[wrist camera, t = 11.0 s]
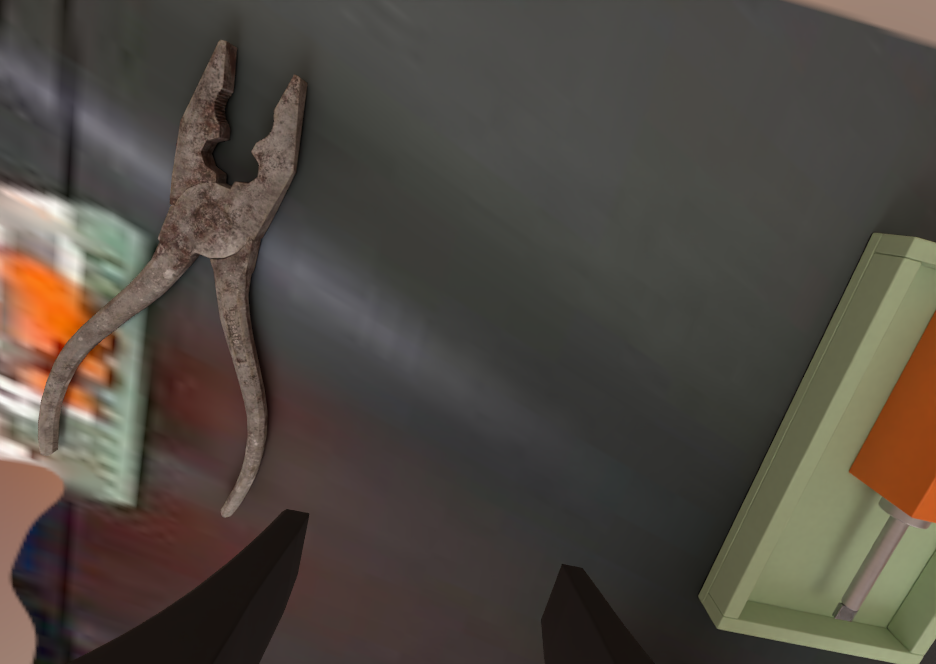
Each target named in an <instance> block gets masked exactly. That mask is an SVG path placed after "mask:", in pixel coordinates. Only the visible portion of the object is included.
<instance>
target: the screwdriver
mask: <svg viewBox="0 0 936 664" xmlns="http://www.w3.org/2000/svg"><path fill="white" fill-rule="evenodd" d="M849 473H851V474H852V475H853V476H855V477H856V478H857V479H859V480H860V481H862V482H863V483H864V484H866V485H867V486H869V487H870V488H871V489H873V490H874V491H875V492H877V493H878V494H880V495H881V496H882V498H881V500H880V501H879V506H880V508H881V509H882V510H884V511H885V512H886V513H888V514H889V515H890V517H889V518H888V520H887V522H886V524H885V525H884V527H883V529H882V530H881V532H880V534H879V536H878V537H877V539H876V541H875V542H874V544H873V546H872V547H871V549H870V551H869V553H868V554H867V556H866V558H865V559H864V561H863V563H862V565H861V566H860V568H859V570H858V571H857V573H856V575H855V577H854V578H853V580H852V582H851V583H850V585H849V587H848V589H847V590H846V592H845V594H844V595H843V597H842V599H841V601H842V603H841V602H839V603H838V605H837V607H836V608H835V610H834V612H833V613H832V616H833V617H834V618H835V619H839V620H844V621H849V622H852V620H853V619H854V617H855V615H856V614H857V612H858V610H859V608H860V607H861V605H862V603H863V602H864V600H865V598H866V597H867V595H868V593H869V592H870V590H871V588H872V587H873V585H874V583H875V582H876V580H877V578H878V577H879V575H880V573H881V572H882V570H883V568H884V567H885V565H886V563H887V562H888V560H889V558H890V557H891V555H892V553H893V552H894V550H895V548H896V547H897V545H898V543H899V542H900V540H901V538H902V537H903V535H904V533H905V532H906V530H907V528H908V527H909V525H910V526H913V527H916V528H920V529H927V528H929V526H930V525H931V523H932V522H933V523H936V311H935V313H934V315H933V316H932V318H931V320H930V322H929V324H928V326H927V328H926V329H925V331H924V333H923V335H922V337H921V339H920V341H919V342H918V344H917V346H916V348H915V350H914V352H913V353H912V355H911V357H910V359H909V361H908V363H907V365H906V366H905V368H904V370H903V372H902V374H901V376H900V378H899V379H898V381H897V383H896V385H895V387H894V389H893V390H892V392H891V394H890V396H889V398H888V400H887V402H886V403H885V405H884V407H883V409H882V411H881V413H880V414H879V416H878V418H877V420H876V422H875V424H874V426H873V427H872V429H871V431H870V433H869V435H868V437H867V439H866V440H865V442H864V444H863V446H862V448H861V450H860V451H859V453H858V455H857V457H856V459H855V461H854V463H853V464H852V466H851V468H850V470H849Z"/></svg>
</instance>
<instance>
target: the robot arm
mask: <svg viewBox="0 0 936 664" xmlns="http://www.w3.org/2000/svg"><path fill="white" fill-rule="evenodd" d="M308 518H309V513H304V512H299V511H294V510H289V509H286V510H284V511H283V512H281V514H280V515H279V516H278V517H277V518H276V519H275V520H274V521H273V522H272V523H271V524H270V525H269V526H268V527H267V528H266V529H265V530H264V531H263V532H262V533H261V534H260V535H259V536H258V537H256V538H255V539H254V540H253V541H252V542H251V543H250V544H249V545H248V546H246V547H245V548H244V549H243V550H242V551H241V552H240V553H239V554H237V555H236V556H235V557H234V558H233V559H232V560H230V561H229V562H228V563H227V564H226V565H224V566H223V567H222V568H221V569H219V570H218V571H217V572H215V573H214V574H213V575H212V576H210V577H209V578H208V579H207V580H205V581H204V582H203V583H201V584H200V585H199V586H197V587H196V588H195V589H193V590H192V591H191V592H189V593H188V594H186V595H185V596H183V597H182V598H181V599H179V600H178V601H176V602H175V603H173V604H172V605H170V606H169V607H167V608H166V609H164V610H163V611H161V612H159V613H158V614H156V615H154V616H153V617H151V618H150V619H148V620H146V621H145V622H143V623H142V624H140V625H138V626H137V627H135V628H133V629H132V630H130V631H128V632H126V633H125V634H123V635H121V636H119V637H118V638H116V639H114V640H112V641H110V642H108V643H106V644H104V645H102V646H100V647H98V648H96V649H95V650H93V651H91V652H89V653H87V654H85V655H83V656H81V657H79V658H77V659H75V660H73V661H71V662H69V663H67V664H259V662H260V660H261V658H262V656H263V654H264V652H265V650H266V648H267V646H268V644H269V642H270V640H271V638H272V636H273V634H274V631H275V629H276V627H277V625H278V623H279V621H280V619H281V617H282V615H283V613H284V610H285V607H286V605H287V602H288V599H289V597H290V594H291V591H292V588H293V586H294V583H295V580H296V577H297V575H298V570H299V565H300V560H301V555H302V549H303V544H304V539H305V534H306V529H307V524H308ZM541 624H542V638H543V649H544V659H545V664H655V663H654V662H653V661H652V660H651V659H650V657H649V656H648V655H647V654H646V653H645V651H644V650H643V649H642V648H641V646H640V645H639V644H638V643H637V641H636V640H635V639H634V637H633V636H632V635H631V634H630V632H629V631H628V630H627V628H626V627H625V626H624V624H623V623H622V622H621V620H620V619H619V618H618V616H617V615H616V613H615V612H614V611H613V609H612V608H611V607H610V605H609V604H608V602H607V601H606V600H605V598H604V597H603V595H602V594H601V593H600V591H599V590H598V588H597V587H596V586H595V584H594V583H593V581H592V580H591V579H590V577H589V576H588V575H587V573H586V572H585V571H584V569H583V568H580V567H575V566H570V565H565V564H562V566H561V568H560V571H559V574H558V576H557V579H556V582H555V584H554V587H553V590H552V592H551V595H550V598H549V600H548V603H547V606H546V608H545V611H544V614H543V616H542V619H541Z"/></svg>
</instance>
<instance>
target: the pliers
mask: <svg viewBox="0 0 936 664" xmlns="http://www.w3.org/2000/svg"><path fill="white" fill-rule="evenodd" d="M236 55H237V48H236V47H234V46H233V45H231V44H230V43H228V42H227V41H223V40H219V42H218V44H217V46H216V49H215V51H214V53H213V55H212V57H211V59H210V61H209V63H208V65H207V67H206V69H205V71H204V73H203V76H202V78H201V80H200V82H199V84H198V86H197V88H196V90H195V92H194V94H193V96H192V98H191V100H190V103H189V105H188V107H187V109H186V111H185V113H184V115H183V117H182V119H181V121H180V128H179V134H178V141H177V147H176V154H175V161H174V167H173V174H172V181H171V193H170V205H174V206H170V209H169V211H168V214H167V216H166V219H165V221H164V224H163V227H162V229H161V232H160V234H159V237H158V239H159V241H160V242H159V244H158V247H157V249H156V251H155V253H154V255H153V257H152V259H151V260H150V262H149V263H148V264H147V265H146V266H145V268H144V269H143V270H142V271H141V272H140V274H139V275H138V276H137V277H136V278H135V279H134V280H133V281H132V282H131V283H130V284H129V285H128V286H127V287H126V288H124V289H123V290H122V291H121V292H120V293H119V294H118V295H116V296H115V297H114V298H113V299H112V300H111V301H110V302H109V303H107V304H106V305H105V306H104V307H103V308H102V309H101V310H100V311H98V312H97V313H96V314H95V315H94V316H93V317H92V318H91V319H89V320H88V321H87V322H86V323H85V324H84V325H83V326H82V327H81V328H80V329H79V330H78V331H77V332H76V333H75V334H74V335H73V336H72V337H71V339H70V340H69V341H68V342H67V343H66V345H65V346H64V348H63V349H62V351H61V352H60V354H59V356H58V357H57V359H56V360H55V363H54V365H53V367H52V370H51V372H50V374H49V377H48V379H47V382H46V386H45V389H44V393H43V396H42V400H41V406H40V413H39V420H38V440H39V447H40V453H41V455H44V456H49V455H50V454H52V453H53V452H55V451H56V450H57V449H58V439H59V419H60V413H61V407H62V402H63V399H64V396H65V393H66V391H67V388H68V385H69V383H70V381H71V379H72V377H73V375H74V373H75V371H76V369H77V367H78V366H79V364H80V363H81V362H82V360H83V359H84V358H85V357H86V355H87V354H88V353H89V351H91V350H92V349H93V348H94V347H95V346H96V345H97V344H98V343H99V342H101V341H102V340H103V339H104V338H105V337H107V336H108V335H109V334H111V333H112V332H113V331H114V330H116V329H117V328H118V327H119V326H121V325H122V324H123V323H125V322H126V321H127V320H129V319H130V318H132V317H133V316H134V315H136V314H137V313H139V312H140V311H142V310H143V309H144V308H146V307H147V306H149V305H150V304H151V303H153V302H154V301H155V300H156V299H158V298H159V297H160V296H161V295H163V294H164V293H165V292H166V291H167V290H168V289H169V288H170V287H171V286H172V285H173V284H174V283H175V282H176V281H177V280H178V279H179V278H180V277H181V276H182V275H183V273H184V272H185V271H186V270H187V269H188V268H189V267H190V265H191V264H192V263H193V262H194V261H195V260H196V259H197V257H198V256H199V255H200V254H201V255H203V256H206V257H208V258H210V261H211V264H212V267H213V270H214V278H215V286H216V294H217V300H218V307H219V314H220V319H221V323H222V327H223V330H224V334H225V338H226V341H227V344H228V347H229V350H230V353H231V356H232V359H233V363H234V366H235V370H236V373H237V377H238V380H239V384H240V388H241V391H242V395H243V399H244V404H245V409H246V413H247V428H248V438H247V446H246V453H245V458H244V462H243V466H242V470H241V473H240V475H239V478H238V480H237V482H236V484H235V487H234V489H233V490H232V492H231V494H230V495H229V497H228V499H227V500H226V502H225V504H224V506H223V507H222V509H221V515H222V516H223V517H224V518H225V517H230V516H231V515H232V514H233V513H234V511H235V510H236V509H237V508H238V507H239V505H240V504H241V502H242V501H243V499H244V497H245V496H246V494H247V493H248V491H249V489H250V487H251V485H252V483H253V481H254V479H255V476H256V474H257V472H258V469H259V465H260V462H261V459H262V455H263V451H264V446H265V441H266V436H267V415H268V413H267V405H266V396H265V390H264V385H263V380H262V375H261V370H260V366H259V361H258V356H257V351H256V347H255V342H254V337H253V332H252V326H251V319H250V311H249V298H248V294H249V286H250V279H251V274H252V273H253V272H254V269H255V264H256V260H257V255H258V250H259V246H260V241H261V238H263V236H264V234H265V232H266V231H267V229H268V227H269V225H270V223H271V221H272V220H273V218H274V216H275V214H276V212H277V210H278V208H279V206H280V204H281V202H282V200H283V198H284V196H285V194H286V192H287V190H288V188H289V186H290V184H291V182H292V180H293V177H294V175H295V173H296V169H297V161H298V154H299V146H300V138H301V130H302V122H303V114H304V106H305V98H306V90H307V82H305V81H304V80H303V79H301V78H300V77H298V76H297V75H295V74H294V76H293V78H292V80H291V81H290V83H289V85H288V87H287V89H286V90H285V92H284V94H283V96H282V98H281V99H280V101H279V103H278V105H277V107H276V108H275V110H274V117H275V119H274V121H275V122H274V126H273V129H272V132H270V135H268V137H265V139H263V140H260V141H259V142H257V143H256V144H255V146H254V148H253V150H252V151H251V152H252V154H253V155H254V157H255V158H256V160H257V161H258V163H259V170H258V177H257V178H256V179H254V180H253V181H251V182H250V183H247V182H234V184H233V186H231V185H229V184H226V177H227V174H226V173H224V172H223V171H222V170H220V169H219V168H218V167H216V165H215V162H214V159H213V156H212V152H213V150H214V148H215V146H216V144H217V142H222V141H226V140H230V127H229V124H228V123H227V120H226V117H225V115H226V114H225V113H224V112H225V108H226V107H225V105H226V102H227V101H228V100H227V99H229V96H231V94H232V93H233V92H234V79H235V67H236Z"/></svg>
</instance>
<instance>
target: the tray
mask: <svg viewBox="0 0 936 664" xmlns="http://www.w3.org/2000/svg"><path fill="white" fill-rule="evenodd" d="M935 311H936V243H935V242H932V241H928V240H925V239H921V238H918V237H911V236H902V235H892V234H882V233H873V234H872V236H871V238H870V240H869V242H868V244H867V247H866V249H865V251H864V253H863V255H862V257H861V259H860V261H859V263H858V265H857V267H856V269H855V271H854V274H853V276H852V278H851V280H850V282H849V284H848V286H847V288H846V290H845V292H844V294H843V296H842V298H841V301H840V303H839V305H838V307H837V309H836V311H835V313H834V315H833V317H832V319H831V321H830V323H829V325H828V328H827V330H826V332H825V334H824V336H823V338H822V340H821V342H820V344H819V346H818V348H817V350H816V352H815V355H814V357H813V359H812V361H811V363H810V365H809V367H808V369H807V371H806V373H805V375H804V377H803V379H802V382H801V384H800V386H799V388H798V390H797V392H796V394H795V396H794V398H793V400H792V402H791V404H790V406H789V409H788V411H787V413H786V415H785V417H784V419H783V421H782V423H781V425H780V427H779V429H778V431H777V433H776V436H775V438H774V440H773V442H772V444H771V446H770V448H769V450H768V452H767V454H766V456H765V458H764V460H763V463H762V465H761V467H760V469H759V471H758V473H757V475H756V477H755V479H754V481H753V483H752V485H751V487H750V490H749V492H748V494H747V496H746V498H745V500H744V502H743V504H742V506H741V508H740V510H739V512H738V514H737V517H736V519H735V521H734V523H733V525H732V527H731V529H730V531H729V533H728V535H727V537H726V539H725V541H724V544H723V546H722V548H721V550H720V552H719V554H718V556H717V558H716V560H715V562H714V564H713V566H712V568H711V571H710V573H709V575H708V577H707V579H706V581H705V583H704V585H703V587H702V589H701V591H700V593H699V595H698V597H699V599H700V601H701V603H702V604H703V606H704V607H705V609H706V611H707V613H708V614H709V616H710V618H711V619H712V621H713V623H714V624H715V626H716V628H717V629H720V630H726V631H731V632H736V633H741V634H746V635H751V636H757V637H762V638H767V639H772V640H777V641H783V642H788V643H793V644H798V645H803V646H808V647H814V648H819V649H824V650H829V651H834V652H840V653H845V654H850V655H855V656H860V657H865V658H871V659H876V660H881V661H886V662H891V663H897V664H919V663H920V661H921V660H922V658H923V657H924V656H923V655H925V653H926V652H927V650H928V649H929V647H930V646H931V645H932V643H933V642H934V640H935V639H936V523H933V522H932V523H931V525H930V526H929V528H927V529H920V528H916V527H913V526H910V525H909V527H908V528H907V530H906V532H905V533H904V535H903V537H902V538H901V540H900V542H899V543H898V545H897V547H896V548H895V550H894V552H893V553H892V555H891V557H890V558H889V560H888V562H887V563H886V565H885V567H884V568H883V570H882V572H881V573H880V575H879V577H878V578H877V580H876V582H875V583H874V585H873V587H872V588H871V590H870V592H869V593H868V595H867V597H866V598H865V600H864V602H863V603H862V605H861V607H860V608H859V610H858V612H857V614H856V615H855V617H854V619H853V620H852V622H849V621H844V620H839V619H835V618H834V617H833V616H832V613H833V612H834V610H835V608H836V607H837V605H838V603H839V602H841V603H842V601H841V599H842V597H843V595H844V594H845V592H846V590H847V589H848V587H849V585H850V583H851V582H852V580H853V578H854V577H855V575H856V573H857V571H858V570H859V568H860V566H861V565H862V563H863V561H864V559H865V558H866V556H867V554H868V553H869V551H870V549H871V547H872V546H873V544H874V542H875V541H876V539H877V537H878V536H879V534H880V532H881V530H882V529H883V527H884V525H885V524H886V522H887V520H888V518H889V517H890V515H889V514H888V513H886V512H885V511H884V510H882V509H881V508H880V506H879V501H880V500H881V498H882V496H881V495H880V494H878V493H877V492H875V491H874V490H873V489H871V488H870V487H869V486H867V485H866V484H864V483H863V482H862V481H860V480H859V479H857V478H856V477H855V476H853V475H852V474H851V473H849V470H850V468H851V466H852V464H853V463H854V461H855V459H856V457H857V455H858V453H859V451H860V450H861V448H862V446H863V444H864V442H865V440H866V439H867V437H868V435H869V433H870V431H871V429H872V427H873V426H874V424H875V422H876V420H877V418H878V416H879V414H880V413H881V411H882V409H883V407H884V405H885V403H886V402H887V400H888V398H889V396H890V394H891V392H892V390H893V389H894V387H895V385H896V383H897V381H898V379H899V378H900V376H901V374H902V372H903V370H904V368H905V366H906V365H907V363H908V361H909V359H910V357H911V355H912V353H913V352H914V350H915V348H916V346H917V344H918V342H919V341H920V339H921V337H922V335H923V333H924V331H925V329H926V328H927V326H928V324H929V322H930V320H931V318H932V316H933V315H934V313H935Z"/></svg>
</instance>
